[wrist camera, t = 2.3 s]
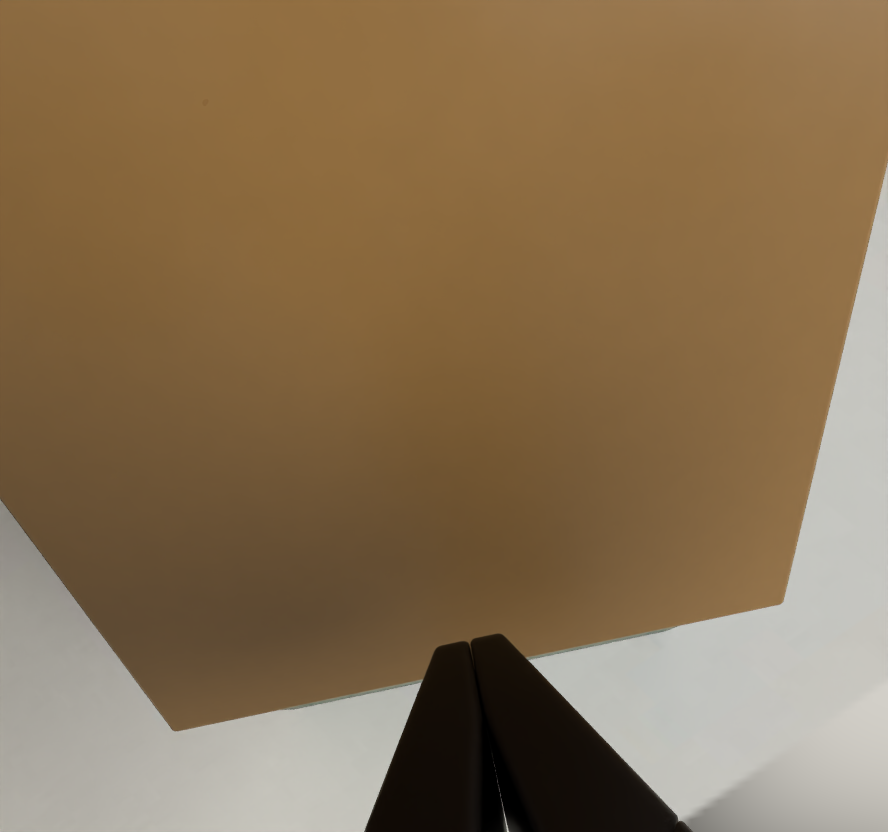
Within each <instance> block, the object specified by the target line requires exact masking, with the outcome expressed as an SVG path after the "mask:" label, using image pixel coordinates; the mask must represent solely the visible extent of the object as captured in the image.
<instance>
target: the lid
mask: <svg viewBox="0 0 888 832" xmlns="http://www.w3.org/2000/svg"><path fill="white" fill-rule="evenodd" d="M887 163H888V0H0V499H1V501H2V502H3V503H4V505H5V506H6V507H7V509H8V510H9V511H10V513H11V514H12V515H13V517H14V518H15V519H16V521H17V522H18V523H19V525H20V526H21V527H22V529H23V530H24V531H25V533H26V534H27V536H28V537H29V538H30V540H31V541H32V542H33V544H34V545H35V546H36V548H37V549H38V550H39V552H40V553H41V554H42V556H43V557H44V558H45V560H46V561H47V562H48V564H49V565H50V566H51V568H52V569H53V570H54V572H55V573H56V574H57V576H58V577H59V578H60V580H61V581H62V582H63V584H64V585H65V587H66V588H67V589H68V591H69V592H70V593H71V595H72V596H73V597H74V599H75V600H76V601H77V603H78V604H79V605H80V607H81V608H82V609H83V611H84V612H85V613H86V615H87V616H88V617H89V619H90V620H91V621H92V623H93V624H94V625H95V627H96V628H97V629H98V631H99V632H100V633H101V635H102V636H103V638H104V639H105V640H106V642H107V643H108V644H109V646H110V647H111V648H112V650H113V651H114V652H115V654H116V655H117V656H118V658H119V659H120V660H121V662H122V663H123V664H124V666H125V667H126V668H127V670H128V671H129V672H130V674H131V675H132V676H133V678H134V679H135V680H136V682H137V683H138V684H139V686H140V687H141V689H142V690H143V691H144V693H145V694H146V695H147V697H148V698H149V699H150V701H151V702H152V703H153V705H154V706H155V707H156V709H157V710H158V711H159V713H160V714H161V715H162V717H163V718H164V719H165V721H166V722H167V723H168V725H169V726H170V727H171V729H172V730H173V731H181V730H186V729H191V728H196V727H200V726H205V725H210V724H215V723H219V722H224V721H229V720H234V719H238V718H243V717H248V716H253V715H257V714H262V713H267V712H272V711H276V710H281V709H286V708H291V707H295V706H300V705H305V704H310V703H314V702H319V701H324V700H329V699H333V698H338V697H343V696H348V695H352V694H357V693H362V692H367V691H371V690H376V689H381V688H386V687H390V686H395V685H400V684H405V683H409V682H414V681H419V680H423V679H424V676H425V673H426V671H427V668H428V666H429V663H430V660H431V658H432V655H433V653H434V651H435V649H436V648H437V647H438V646H441V645H445V644H450V643H455V642H459V641H466V642H468V643H469V645H470V643H471V641H472V640H473V639H474V638H478V637H483V636H487V635H492V634H497V633H500V634H503V635H504V636H505V637H506V638H507V639H508V640H509V641H510V642H511V643H512V644H513V645H514V646H515V647H516V648H517V649H518V650H519V651H520V652H521V653H522V654H523V655H524V657H525V658H528V657H533V656H538V655H542V654H547V653H552V652H557V651H561V650H566V649H571V648H576V647H580V646H585V645H590V644H595V643H599V642H604V641H609V640H614V639H618V638H623V637H628V636H633V635H637V634H642V633H647V632H652V631H656V630H661V629H666V628H671V627H675V626H680V625H685V624H690V623H694V622H699V621H704V620H709V619H713V618H718V617H723V616H728V615H732V614H737V613H742V612H747V611H751V610H756V609H761V608H766V607H770V606H775V605H780V604H781V603H782V602H783V600H784V596H785V592H786V588H787V584H788V579H789V575H790V571H791V567H792V563H793V558H794V554H795V550H796V546H797V542H798V537H799V533H800V529H801V525H802V520H803V516H804V512H805V508H806V504H807V499H808V495H809V491H810V487H811V483H812V478H813V474H814V470H815V466H816V462H817V457H818V453H819V449H820V445H821V440H822V436H823V432H824V428H825V424H826V419H827V415H828V411H829V407H830V403H831V398H832V394H833V390H834V386H835V382H836V377H837V373H838V369H839V365H840V360H841V356H842V352H843V348H844V344H845V339H846V335H847V331H848V327H849V323H850V318H851V314H852V310H853V306H854V302H855V297H856V293H857V289H858V285H859V280H860V276H861V272H862V268H863V264H864V259H865V255H866V251H867V247H868V243H869V238H870V234H871V230H872V226H873V222H874V217H875V213H876V209H877V205H878V200H879V196H880V192H881V188H882V184H883V179H884V175H885V171H886V167H887ZM470 649H471V647H470ZM471 654H472V652H471ZM472 659H473V658H472Z"/></svg>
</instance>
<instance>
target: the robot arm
mask: <svg viewBox="0 0 888 832" xmlns="http://www.w3.org/2000/svg"><path fill="white" fill-rule="evenodd" d="M470 647H471V649H470ZM471 652H472V654H471ZM472 658H473V659H472ZM494 765H495V766H494ZM495 770H496V771H495ZM496 775H497V776H496ZM497 780H498V781H497ZM498 785H499V786H498ZM499 789H500V791H499ZM500 794H501V796H500ZM501 799H502V801H501ZM502 804H503V806H502ZM503 808H504V811H503ZM504 813H505V817H506V821H507V825H508V830H509V832H693V831H692V830H691V829H690V828H689V827H688V826H687V825H686V824H685V823H684V822H682V821H679V822H678V817H677V815H676V814H675V813H674V812H673V811H672V810H671V809H670V808H669V807H668V806H667V805H666V804H665V803H664V802H663V800H662V799H661V798H660V797H659V796H658V795H657V794H656V793H655V792H654V791H653V790H652V789H651V788H650V787H649V786H648V785H647V784H646V783H645V782H644V781H643V780H642V779H641V778H640V777H639V775H638V774H637V773H636V772H635V771H634V770H633V769H632V768H631V767H630V766H629V765H628V764H627V763H626V762H625V761H624V760H623V759H622V758H621V757H620V756H619V755H618V754H617V753H616V751H615V750H614V749H613V748H612V747H611V746H610V745H609V744H608V743H607V742H606V741H605V740H604V739H603V738H602V737H601V736H600V735H599V734H598V733H597V732H596V731H595V730H594V729H593V727H592V726H591V725H590V724H589V723H588V722H587V721H586V720H585V719H584V718H583V717H582V716H581V715H580V714H579V713H578V712H577V711H576V710H575V709H574V708H573V707H572V706H571V705H570V703H569V702H568V701H567V700H566V699H565V698H564V697H563V696H562V695H561V694H560V693H559V692H558V691H557V690H556V689H555V688H554V687H553V686H552V685H551V684H550V683H549V682H548V681H547V679H546V678H545V677H544V676H543V675H542V674H541V673H540V672H539V671H538V670H537V669H536V668H535V667H534V666H533V665H532V664H531V663H530V662H529V661H528V660H527V659H526V658H525V657H524V655H523V654H522V653H521V652H520V651H519V650H518V649H517V648H516V647H515V646H514V645H513V644H512V643H511V642H510V641H509V640H508V639H507V638H506V637H505V636H504V635H503V634H500V633H497V634H492V635H487V636H483V637H478V638H474V639H473V640H472V641H471V643H470V645H469V643H468V642H466V641H459V642H455V643H450V644H445V645H441V646H438V647H437V648H436V649H435V651H434V653H433V655H432V658H431V660H430V663H429V666H428V668H427V671H426V673H425V676H424V679H423V681H422V684H421V686H420V689H419V691H418V694H417V697H416V699H415V702H414V704H413V707H412V710H411V712H410V715H409V717H408V720H407V722H406V725H405V728H404V730H403V733H402V735H401V738H400V740H399V743H398V746H397V748H396V751H395V753H394V756H393V759H392V761H391V764H390V766H389V769H388V771H387V774H386V777H385V779H384V782H383V784H382V787H381V790H380V792H379V795H378V797H377V800H376V802H375V805H374V808H373V810H372V813H371V815H370V818H369V820H368V823H367V826H366V828H365V831H364V832H507V829H506V823H505V817H504Z"/></svg>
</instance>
